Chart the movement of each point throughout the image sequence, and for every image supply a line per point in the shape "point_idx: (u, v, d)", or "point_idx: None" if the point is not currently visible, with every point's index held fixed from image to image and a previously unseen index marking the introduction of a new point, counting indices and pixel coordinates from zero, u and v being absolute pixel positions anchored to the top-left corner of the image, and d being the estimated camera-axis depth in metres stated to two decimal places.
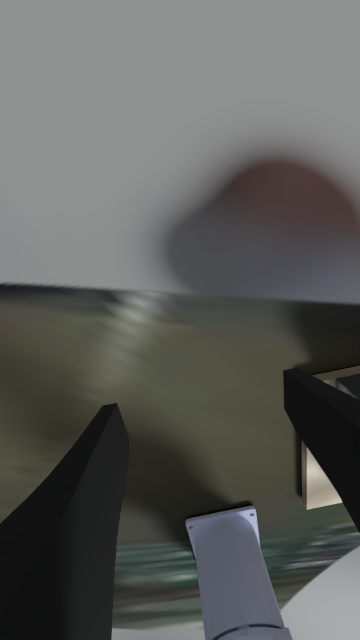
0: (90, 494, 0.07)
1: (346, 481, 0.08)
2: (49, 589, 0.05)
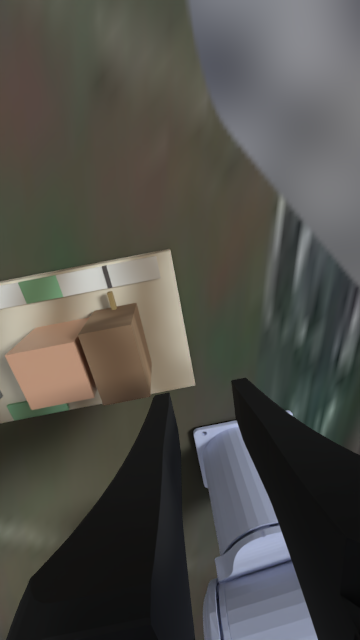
0: (167, 479, 0.07)
1: (275, 495, 0.08)
2: (164, 566, 0.05)
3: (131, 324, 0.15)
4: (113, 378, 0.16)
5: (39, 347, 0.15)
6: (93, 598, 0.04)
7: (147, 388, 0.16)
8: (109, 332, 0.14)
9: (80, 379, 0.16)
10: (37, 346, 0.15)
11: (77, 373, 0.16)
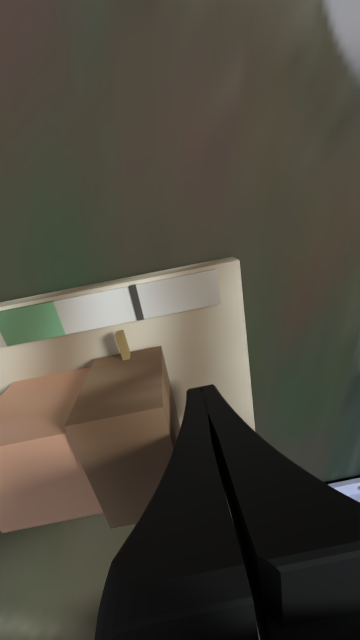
0: None
1: (230, 504, 0.08)
2: None
3: (162, 404, 0.08)
4: (128, 490, 0.09)
5: (10, 438, 0.08)
6: (187, 579, 0.04)
7: None
8: (123, 420, 0.08)
9: (85, 487, 0.09)
10: (7, 435, 0.09)
11: (79, 478, 0.09)
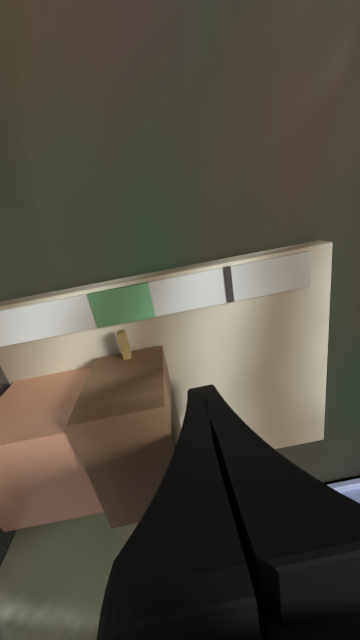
0: None
1: (230, 504, 0.08)
2: None
3: (164, 403, 0.08)
4: (129, 489, 0.09)
5: (12, 437, 0.08)
6: (189, 578, 0.04)
7: None
8: (125, 420, 0.08)
9: (86, 487, 0.09)
10: (9, 434, 0.09)
11: (81, 478, 0.09)
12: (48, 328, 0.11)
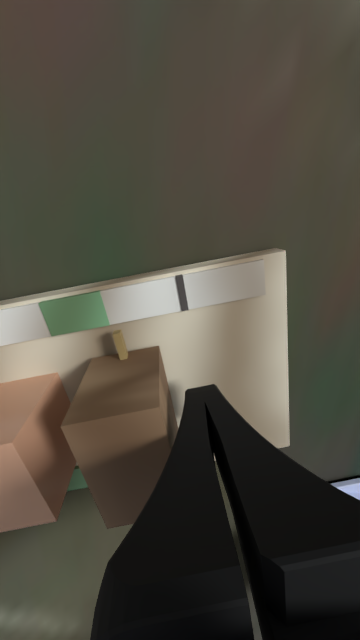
0: None
1: (232, 504, 0.08)
2: None
3: (159, 404, 0.08)
4: (124, 490, 0.09)
5: None
6: (183, 580, 0.04)
7: None
8: (120, 421, 0.08)
9: (31, 497, 0.09)
10: None
11: (24, 489, 0.09)
12: (1, 336, 0.11)
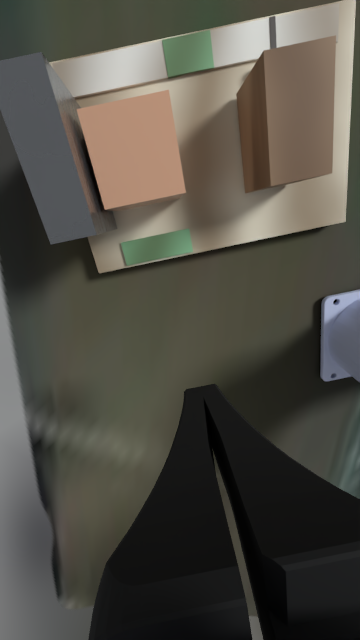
0: None
1: (233, 504, 0.08)
2: None
3: (332, 41, 0.11)
4: (293, 136, 0.12)
5: (120, 102, 0.11)
6: (181, 580, 0.04)
7: (331, 158, 0.12)
8: (306, 48, 0.11)
9: (171, 159, 0.12)
10: (117, 104, 0.11)
11: (168, 148, 0.12)
12: (129, 75, 0.14)
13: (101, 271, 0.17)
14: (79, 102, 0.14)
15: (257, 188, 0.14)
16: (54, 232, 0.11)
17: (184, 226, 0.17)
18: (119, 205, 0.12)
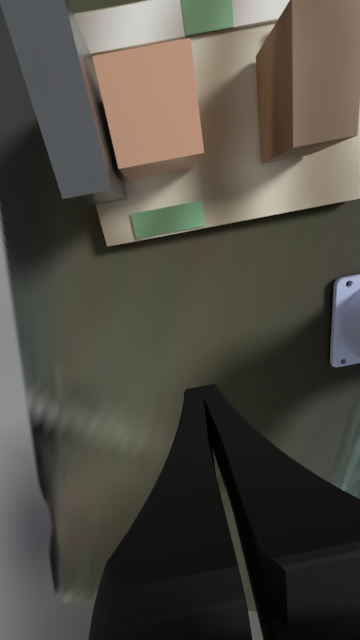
0: None
1: (233, 503, 0.08)
2: None
3: None
4: (318, 94, 0.11)
5: (138, 51, 0.11)
6: (181, 580, 0.04)
7: (357, 119, 0.12)
8: None
9: (190, 115, 0.11)
10: (134, 54, 0.11)
11: (188, 102, 0.11)
12: (145, 32, 0.13)
13: (109, 244, 0.17)
14: None
15: (276, 154, 0.13)
16: (67, 185, 0.10)
17: (197, 198, 0.16)
18: (134, 164, 0.12)
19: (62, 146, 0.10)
